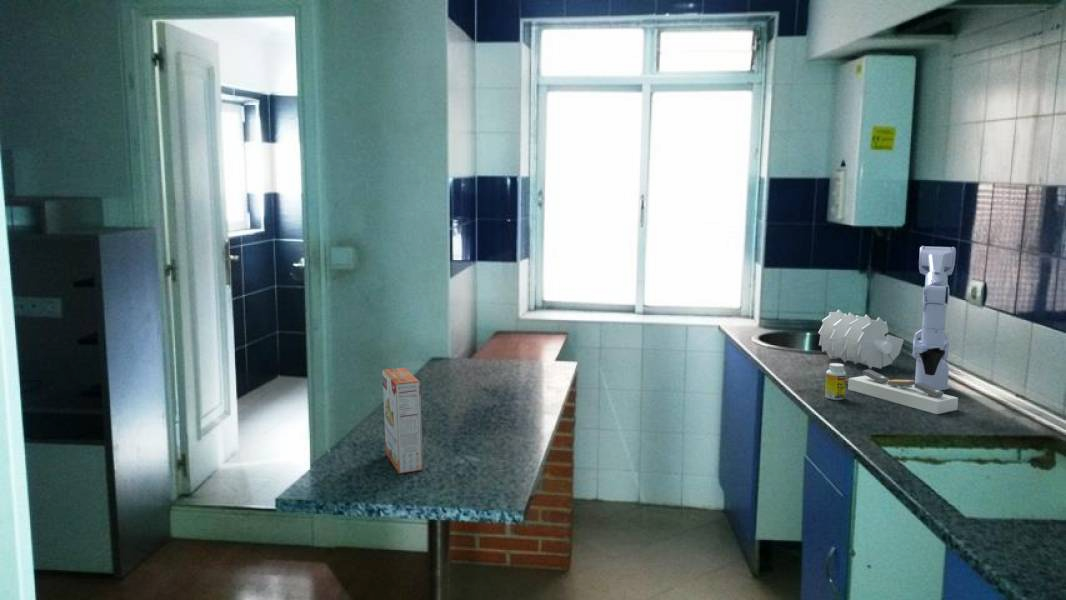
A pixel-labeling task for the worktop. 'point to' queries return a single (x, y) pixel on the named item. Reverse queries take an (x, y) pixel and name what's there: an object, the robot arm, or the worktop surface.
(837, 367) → the supplement bottle
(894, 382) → the orange flat bar
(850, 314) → the white ribbed cylinder
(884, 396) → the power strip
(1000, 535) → the worktop surface
